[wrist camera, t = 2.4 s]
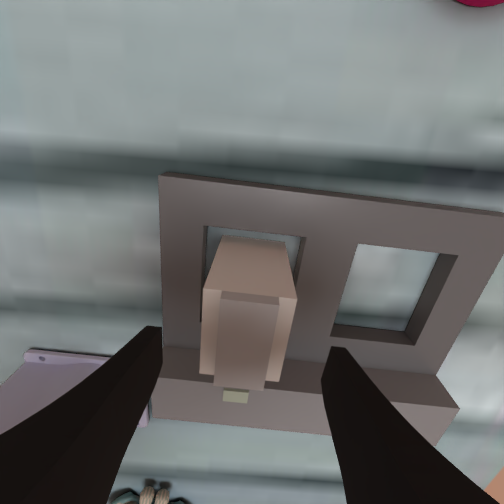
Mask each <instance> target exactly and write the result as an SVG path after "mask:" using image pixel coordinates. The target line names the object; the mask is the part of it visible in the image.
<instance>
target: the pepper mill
mask: <svg viewBox="0 0 504 504" xmlns="http://www.w3.org/2000/svg"><path fill="white" fill-rule="evenodd" d="M457 1H459V2H461V3H463V4H466V5H469V6H477V7H485V6H494V5H497V4H500V3H503V2H504V0H457Z"/></svg>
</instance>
